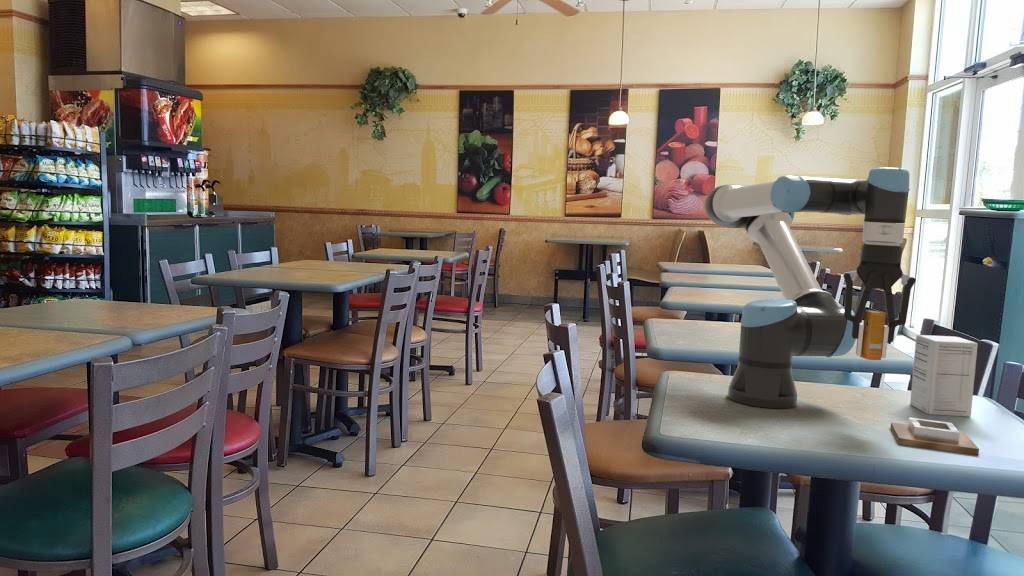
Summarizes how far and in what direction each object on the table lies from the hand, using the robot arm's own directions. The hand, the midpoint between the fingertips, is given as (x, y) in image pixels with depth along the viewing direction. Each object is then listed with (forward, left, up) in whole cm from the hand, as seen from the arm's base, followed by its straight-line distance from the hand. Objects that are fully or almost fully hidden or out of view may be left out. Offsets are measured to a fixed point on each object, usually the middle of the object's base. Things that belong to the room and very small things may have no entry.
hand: (870, 355), depth 147 cm
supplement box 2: (+17, +21, -15) cm, 31 cm away
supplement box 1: (0, 0, -1) cm, 1 cm away
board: (+11, -8, -14) cm, 20 cm away
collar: (+11, -8, -13) cm, 19 cm away
